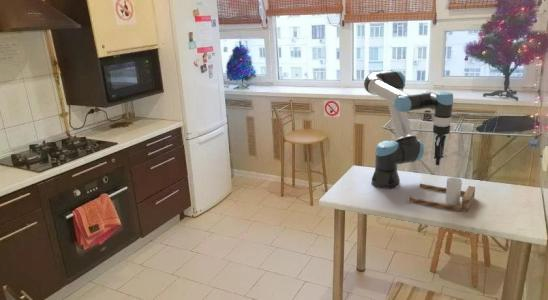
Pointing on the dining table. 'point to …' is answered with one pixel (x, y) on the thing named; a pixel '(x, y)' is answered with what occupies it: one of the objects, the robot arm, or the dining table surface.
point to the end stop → (468, 198)
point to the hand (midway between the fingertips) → (437, 170)
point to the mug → (453, 190)
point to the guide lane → (436, 204)
